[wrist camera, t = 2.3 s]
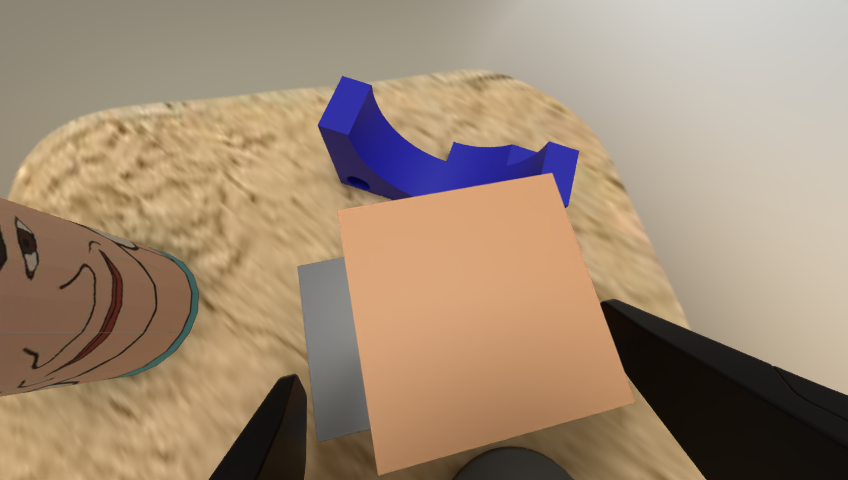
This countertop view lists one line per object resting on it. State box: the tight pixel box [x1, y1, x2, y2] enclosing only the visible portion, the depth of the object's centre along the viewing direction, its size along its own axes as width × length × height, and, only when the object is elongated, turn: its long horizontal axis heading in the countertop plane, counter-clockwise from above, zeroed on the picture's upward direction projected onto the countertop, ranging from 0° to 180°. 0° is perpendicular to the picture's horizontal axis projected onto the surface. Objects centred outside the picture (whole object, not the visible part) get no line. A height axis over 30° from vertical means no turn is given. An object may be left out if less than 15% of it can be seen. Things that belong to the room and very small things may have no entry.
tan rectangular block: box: [337, 173, 636, 476], centre depth 12 cm, size 5×5×12 cm
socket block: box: [297, 257, 371, 443], centre depth 17 cm, size 8×12×2 cm, turn 103°
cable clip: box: [318, 76, 579, 208], centre depth 18 cm, size 12×4×6 cm, turn 72°
